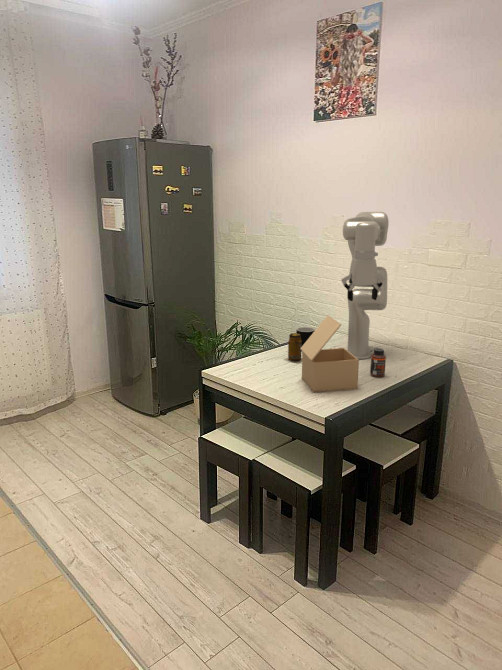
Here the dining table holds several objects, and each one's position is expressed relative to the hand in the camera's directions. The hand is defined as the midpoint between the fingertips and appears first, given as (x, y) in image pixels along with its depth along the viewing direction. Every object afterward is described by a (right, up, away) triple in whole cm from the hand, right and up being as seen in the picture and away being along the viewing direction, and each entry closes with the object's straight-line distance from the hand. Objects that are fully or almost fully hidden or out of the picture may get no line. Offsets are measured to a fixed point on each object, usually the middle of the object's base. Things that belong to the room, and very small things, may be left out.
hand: (362, 299), depth 200 cm
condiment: (-23, -25, +36) cm, 50 cm away
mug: (-16, -21, +53) cm, 59 cm away
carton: (-12, -33, +6) cm, 36 cm away
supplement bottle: (+10, -31, +15) cm, 36 cm away
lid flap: (-16, -15, +1) cm, 22 cm away
